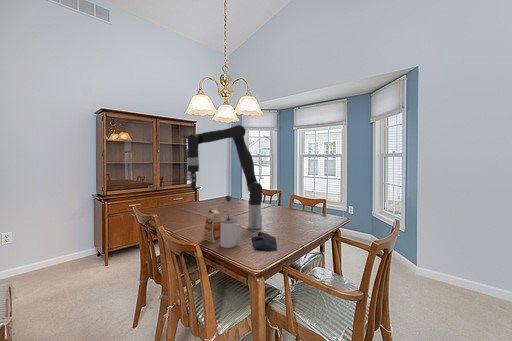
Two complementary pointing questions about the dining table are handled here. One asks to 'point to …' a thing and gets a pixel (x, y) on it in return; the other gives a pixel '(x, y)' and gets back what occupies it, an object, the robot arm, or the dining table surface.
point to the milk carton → (212, 226)
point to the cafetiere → (229, 232)
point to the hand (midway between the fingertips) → (193, 188)
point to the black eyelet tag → (264, 242)
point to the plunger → (228, 198)
